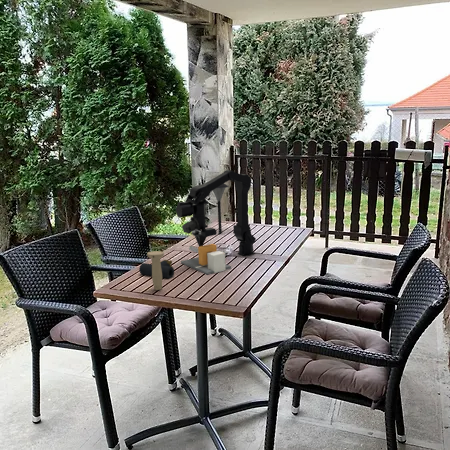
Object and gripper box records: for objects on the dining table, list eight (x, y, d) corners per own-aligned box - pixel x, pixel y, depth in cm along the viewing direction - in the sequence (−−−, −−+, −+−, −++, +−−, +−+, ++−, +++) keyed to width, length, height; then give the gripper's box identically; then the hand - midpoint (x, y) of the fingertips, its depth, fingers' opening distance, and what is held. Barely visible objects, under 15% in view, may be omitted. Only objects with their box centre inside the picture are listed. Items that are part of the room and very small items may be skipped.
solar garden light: (206, 233, 267) (204, 183, 261) (225, 230, 272) (223, 181, 266) (214, 237, 257) (212, 185, 250) (234, 234, 261) (232, 183, 255)
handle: (152, 286, 181) (149, 251, 178) (167, 287, 180) (165, 251, 177) (148, 290, 177) (145, 254, 173) (163, 291, 175) (161, 254, 172)
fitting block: (219, 267, 202) (218, 250, 200) (225, 270, 198) (224, 252, 196) (208, 270, 199) (207, 253, 197) (214, 273, 195) (213, 255, 193)
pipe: (193, 249, 214) (192, 245, 214) (218, 259, 198) (218, 254, 197) (189, 250, 213) (188, 246, 213) (214, 260, 197) (214, 255, 196)
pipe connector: (154, 257, 205) (182, 260, 198) (155, 268, 206) (182, 271, 199) (138, 264, 195) (167, 268, 188) (139, 276, 196) (168, 280, 189)
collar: (213, 260, 207) (212, 243, 205) (217, 261, 204) (216, 244, 203) (198, 263, 202) (198, 246, 200) (202, 265, 200) (201, 248, 198)
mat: (203, 257, 218) (203, 255, 218) (231, 268, 200) (231, 265, 200) (181, 263, 210) (180, 261, 210) (207, 274, 193) (207, 272, 193)
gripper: (173, 214, 205) (175, 247, 209) (195, 220, 191) (197, 255, 194) (193, 211, 212) (195, 242, 215) (216, 216, 197) (218, 250, 201)
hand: (200, 247), depth 206 cm, fingers closed
